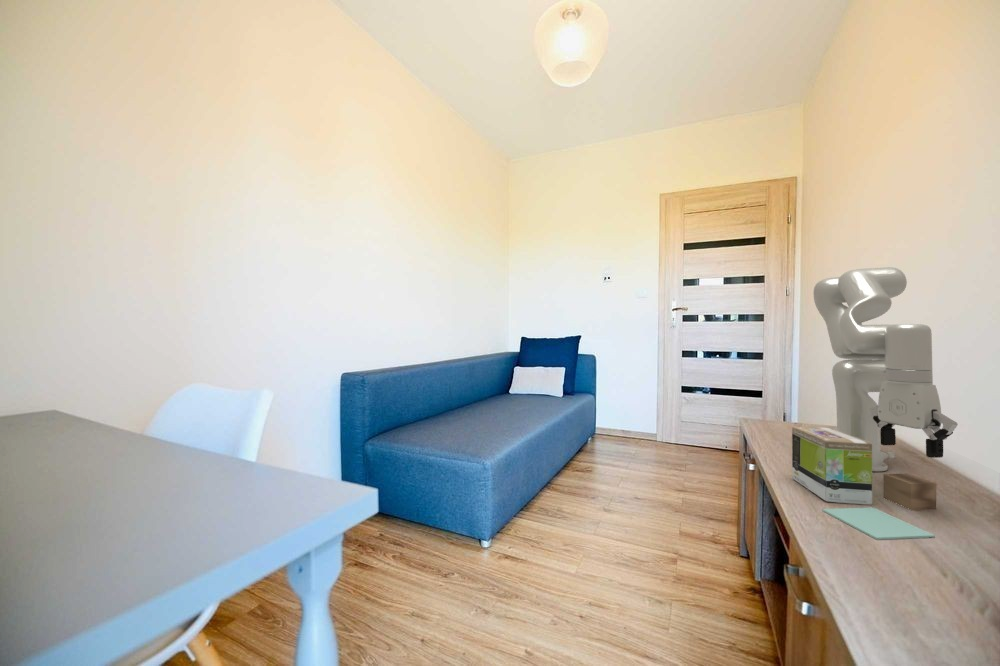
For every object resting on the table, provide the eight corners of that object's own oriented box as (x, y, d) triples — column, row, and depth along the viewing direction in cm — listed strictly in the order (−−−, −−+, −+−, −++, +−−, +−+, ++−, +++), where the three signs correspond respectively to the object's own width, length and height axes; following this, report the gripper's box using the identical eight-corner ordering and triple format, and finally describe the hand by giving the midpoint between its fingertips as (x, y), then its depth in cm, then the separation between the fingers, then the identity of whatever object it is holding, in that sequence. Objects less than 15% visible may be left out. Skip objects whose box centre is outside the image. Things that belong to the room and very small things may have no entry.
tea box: (874, 506, 89) (874, 442, 89) (825, 502, 91) (824, 440, 91) (832, 481, 104) (832, 426, 104) (790, 478, 106) (790, 425, 106)
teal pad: (872, 509, 87) (872, 507, 87) (934, 537, 75) (934, 535, 75) (822, 510, 87) (822, 509, 87) (876, 539, 75) (876, 537, 75)
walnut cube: (907, 498, 93) (907, 473, 93) (936, 509, 87) (936, 483, 87) (883, 498, 93) (883, 474, 93) (911, 510, 87) (911, 484, 87)
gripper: (857, 374, 98) (858, 441, 98) (936, 381, 81) (938, 463, 80) (885, 373, 98) (886, 440, 98) (970, 381, 81) (972, 462, 81)
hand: (910, 450), depth 89 cm, fingers open, 9 cm apart
